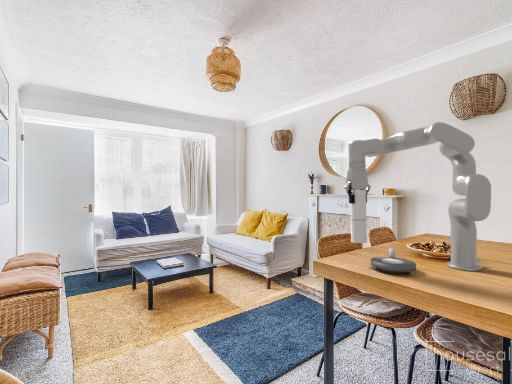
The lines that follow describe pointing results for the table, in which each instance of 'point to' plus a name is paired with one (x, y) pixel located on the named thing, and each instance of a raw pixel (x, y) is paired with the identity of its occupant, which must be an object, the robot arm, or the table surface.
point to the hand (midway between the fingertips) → (358, 202)
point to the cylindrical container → (358, 217)
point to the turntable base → (392, 271)
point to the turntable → (393, 263)
